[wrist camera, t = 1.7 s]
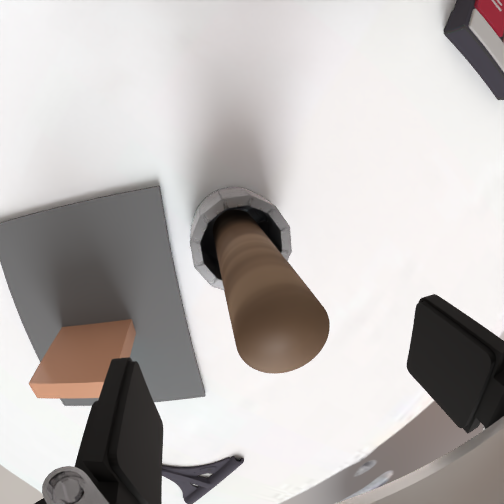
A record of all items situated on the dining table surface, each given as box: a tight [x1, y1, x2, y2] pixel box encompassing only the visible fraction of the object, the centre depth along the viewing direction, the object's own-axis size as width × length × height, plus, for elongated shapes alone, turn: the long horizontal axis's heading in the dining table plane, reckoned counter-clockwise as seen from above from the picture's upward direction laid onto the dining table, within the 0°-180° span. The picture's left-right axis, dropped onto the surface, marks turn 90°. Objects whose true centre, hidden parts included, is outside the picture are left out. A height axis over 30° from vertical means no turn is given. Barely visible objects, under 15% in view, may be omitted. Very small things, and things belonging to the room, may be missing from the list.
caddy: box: [190, 187, 292, 290], centre depth 22 cm, size 6×6×5 cm
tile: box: [29, 319, 136, 398], centre depth 21 cm, size 2×7×8 cm, turn 96°
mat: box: [0, 186, 205, 406], centre depth 24 cm, size 20×16×1 cm
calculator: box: [444, 0, 504, 100], centre depth 20 cm, size 11×4×15 cm
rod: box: [213, 209, 329, 373], centre depth 17 cm, size 3×3×14 cm
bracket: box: [162, 456, 244, 504], centre depth 32 cm, size 14×15×3 cm
